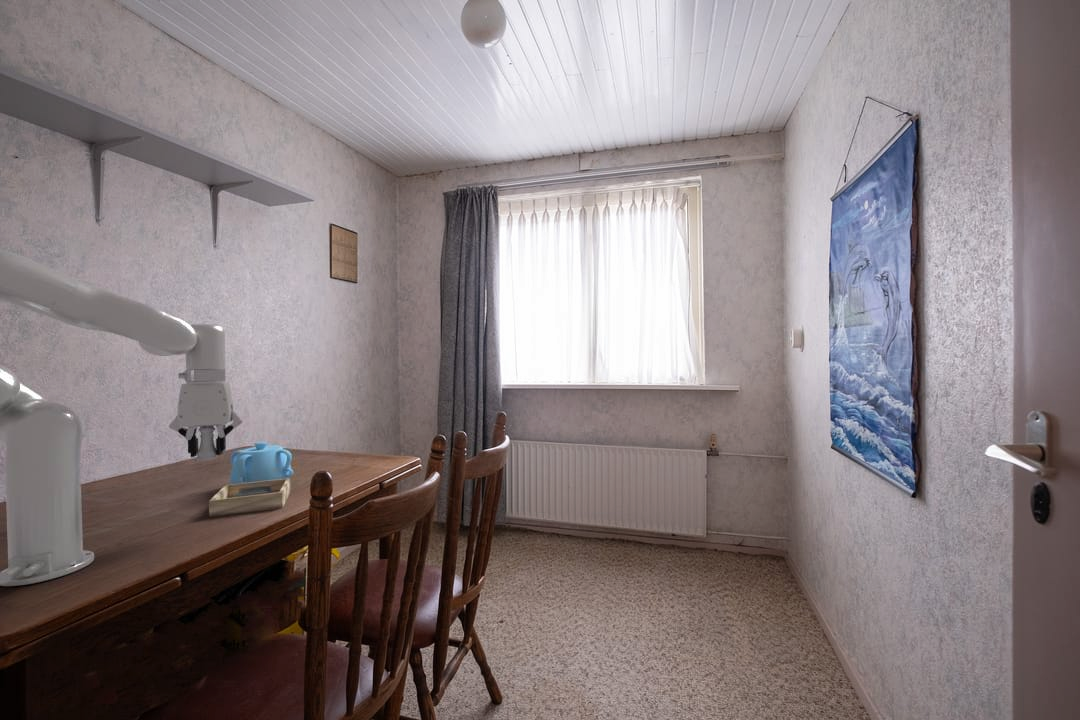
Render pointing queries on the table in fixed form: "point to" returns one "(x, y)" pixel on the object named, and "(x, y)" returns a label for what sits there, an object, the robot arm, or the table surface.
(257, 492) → the socket
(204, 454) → the rook chess piece
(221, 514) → the beech box
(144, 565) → the table surface
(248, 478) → the decorative pot
